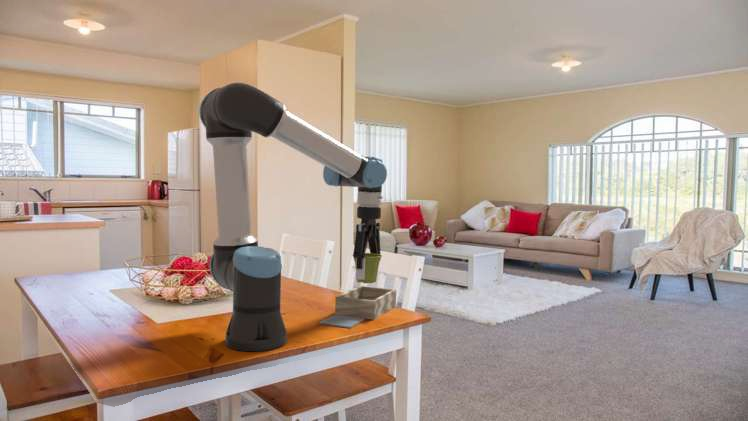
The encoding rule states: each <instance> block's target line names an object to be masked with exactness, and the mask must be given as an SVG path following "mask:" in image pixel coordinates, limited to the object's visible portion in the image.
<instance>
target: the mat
mask: <svg viewBox="0 0 748 421" xmlns="http://www.w3.org/2000/svg"><path fill="white" fill-rule="evenodd" d="M365 320H366V319H365V318H358V317H350V316H342V315H335V314H333V315H331V316H329V317H327V318H325V319H323V320H321V321H320V322H318V324H319V325H324V326H332V327H337V328H338V327H340V328H346V329H352V328H354V327H355V326H357V325H359V324H361V323H363V321H365Z"/></svg>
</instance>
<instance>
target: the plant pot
mask: <svg viewBox="0 0 748 421" xmlns="http://www.w3.org/2000/svg"><path fill="white" fill-rule="evenodd" d="M351 255H352V257H353V254H351ZM382 257H383V254H381V253H380V254H374V253H370V252H365V256H364V258H365V280H360V279H356V282H357V283H358V284H359V283H362V284H374V283H377V278H378V273H379V266H380V262H381V259H382ZM353 261H354V266H355V267H354V268H356V258H353Z"/></svg>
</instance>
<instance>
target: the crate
mask: <svg viewBox="0 0 748 421" xmlns="http://www.w3.org/2000/svg"><path fill="white" fill-rule="evenodd" d="M334 299H335V303H334V304H335V305H334V306H335V307H334V308H335V310H334V315H342V316H349V317H357V318H366V319H367V320H373V319H375V320H376V319H378V318H379V316H380V315H381V316H383V315H384V314H386V313H387V312H389V311H390V309H391V310H393V309H394V308H396V306H397V289H394V288H383V287H374V286H373V287H372V286H365V285H359V286H357V287H354V288H353V289H350V290H348V291H345V292H343V293H341V294H339V295H336V296H335V298H334ZM388 310H389V311H388ZM385 312H386V313H385ZM383 313H384V314H383ZM382 314H383V315H382ZM381 316H380V317H381ZM377 317H378V318H377ZM366 319H365V320H366Z"/></svg>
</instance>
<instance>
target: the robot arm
mask: <svg viewBox="0 0 748 421" xmlns="http://www.w3.org/2000/svg"><path fill="white" fill-rule="evenodd" d="M199 118H200V121H201V123H202V125H203V126H204V128H205V138H206V142H208V143H209V144H210V145H211V146H212V152H213V168H214V182H215V183H214V184H215V186H214V187H215V200H216V216H217V232H218V236H217V238H216V239H215V240H213V243H212V245H213V248H212V249H213V254H212V255H211V257H210V260H209V272H210V276H212V279H213V280H214V281H215V283H217V285H219V286H220V287H221V288H223V289H225V290H228V291H231V292H232V314H231V317H230V319H229V320H230V321H229V323H228V326H227V329H226V332H225V336H224V337H225V339H224V341H225V342H224V343H225V346H226V347H227V348H229V349H232V350H235V351H243V352H262V351H270V350H274V349H278V348H279V347H283V346H284V345H286V344H287V343H288V331H287V329H286V325H285V323H284V322H285V321H284V318H283V316H282V311H281V299H282V298H281V296H282V294H281V292H282V271H283V270H282V268H283V267H282V266H283V265H282V258H281V254H280V253H279V251H278V250H276V249H273V248H270V247H264V246H259V243H258V242H259V241H258V238H256V236H254V235H253V234H252V224H251V223H252V221H251V218H252V217H251V202H250V191H249V190H250V188H249V187H250V186H249V169H248V150H247V145H248V143H250V142H251V141H252V139H253V136H252V133H255V134H258V135H261V136H262V137H263V138H271V137H272V138H274V139H275V140H277V141H279V142H281V143H283V144H285V145H286V146H288V147H290V148H291V149H294V150H295V151H298V152H299V153H301V154H303V155H304V156H306V157H308V158H310V159H312V160H314V162H318V163H319V164H321V165H322V166H324V167H323V173H322V176H323V181H324V182H325V184H326V185H328V186H331V187H332V186H333V187H351V188H353V187H355V188H357V200H356V203H357V205H358V206H357V208H356V217H357V219H361V221H360V224H358V223H357V224H356V228H355V230H356V232H355V239H354V246H353V254H352V255H353V256H352V257H353V259H354V258H356V267H355V280H357V279H360V280H365V258H364V256H365V253H367V252H366V250H367V247H368V249H369V253H374V254H380V255H381V254H382V253H381V235H380V234H381V233H380V227H381V226H380V225H381V224H380V222H377V220H380V219H381V217H382V216H381V215H382V208H381V207H380V206H381V205H382V200H383V198H384V197H383V196H382V191H383V190H382V189H383V185H384V184H385V182H386V180H387V178H388V171H387V168H386V167H387V166H385V164H384V163H383V159H382V158H381V157H379V156H363V155H361V154H360V153H358V152H356V151H354V150H353V149H351V148H350V147H348V146H346V145H345V144H343V143H341V142H340V141H338V140H336V139H335V138H333V137H332V136H330V135H328V134H326V133H325V132H323V131H322V130H319V129H318V128H316V127H315V126H313V125H312V124H309V123H308V122H306V121H305V120H303V119H301V118H300V117H298V116H297V115H295V114H293V113H291V111H288V110H286V106H285V104H284V103H283V102H281V101H280V100H278V99H277V98H274V97H273V96H272V95H270V94H268V93H266V92H264V91H263V90H261V89H259V88H257V87H255V86H253V85H251V84H248V83H246V82H245V83H244V82H232V83H229V84H226V85H224V86H222V87H218V88H214V89H212V90H211V91H210V92H208V93H207V94H206V95H205V96H204V97H203V99H202V101H201V102H200V105H199Z"/></svg>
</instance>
